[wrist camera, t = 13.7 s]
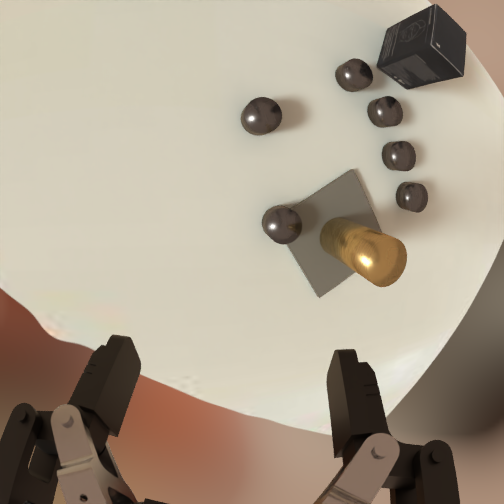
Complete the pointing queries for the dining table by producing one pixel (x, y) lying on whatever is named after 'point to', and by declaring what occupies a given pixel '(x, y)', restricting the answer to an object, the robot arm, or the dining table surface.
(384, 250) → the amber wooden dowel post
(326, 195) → the pad
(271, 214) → the spacers
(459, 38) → the box
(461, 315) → the dining table surface
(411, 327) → the dining table surface
